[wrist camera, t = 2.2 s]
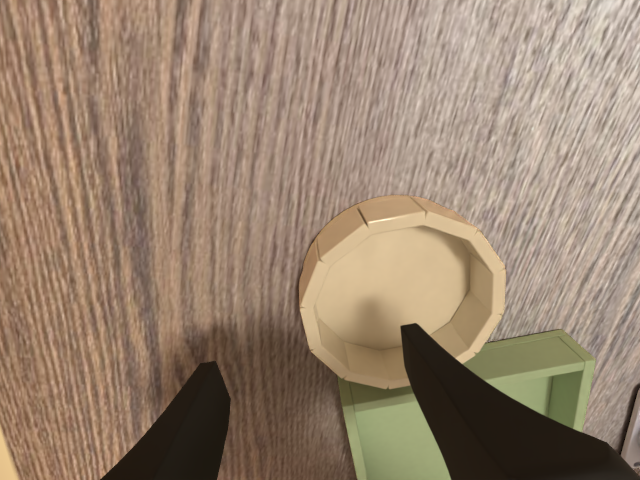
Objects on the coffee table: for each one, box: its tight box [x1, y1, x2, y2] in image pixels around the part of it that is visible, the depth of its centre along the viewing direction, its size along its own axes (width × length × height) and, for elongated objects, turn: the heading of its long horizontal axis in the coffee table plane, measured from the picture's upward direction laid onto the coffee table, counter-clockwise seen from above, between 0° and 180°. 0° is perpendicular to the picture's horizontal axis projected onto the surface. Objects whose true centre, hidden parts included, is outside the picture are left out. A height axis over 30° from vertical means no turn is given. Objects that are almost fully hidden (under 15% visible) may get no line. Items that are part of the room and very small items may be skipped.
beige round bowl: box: [299, 195, 506, 389], centre depth 17 cm, size 9×9×3 cm
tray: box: [337, 329, 596, 480], centre depth 21 cm, size 13×13×2 cm
